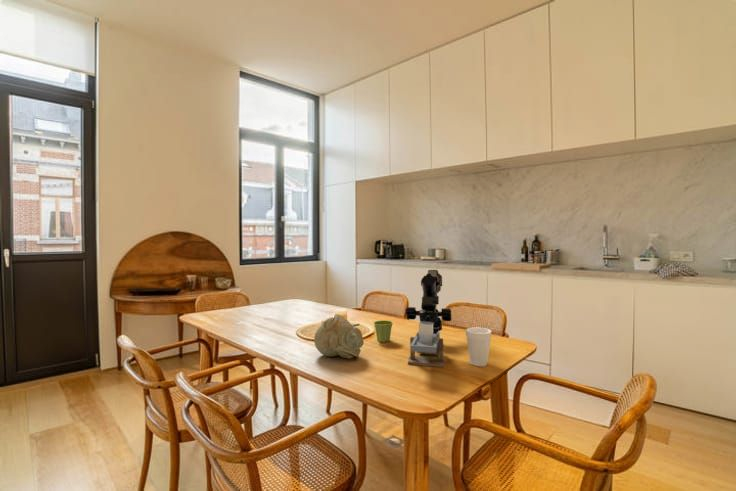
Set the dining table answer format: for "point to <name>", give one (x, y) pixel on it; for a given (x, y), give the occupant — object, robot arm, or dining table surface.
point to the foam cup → (478, 345)
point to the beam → (426, 345)
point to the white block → (425, 332)
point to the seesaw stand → (427, 357)
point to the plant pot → (383, 330)
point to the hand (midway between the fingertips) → (427, 331)
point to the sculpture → (338, 338)
